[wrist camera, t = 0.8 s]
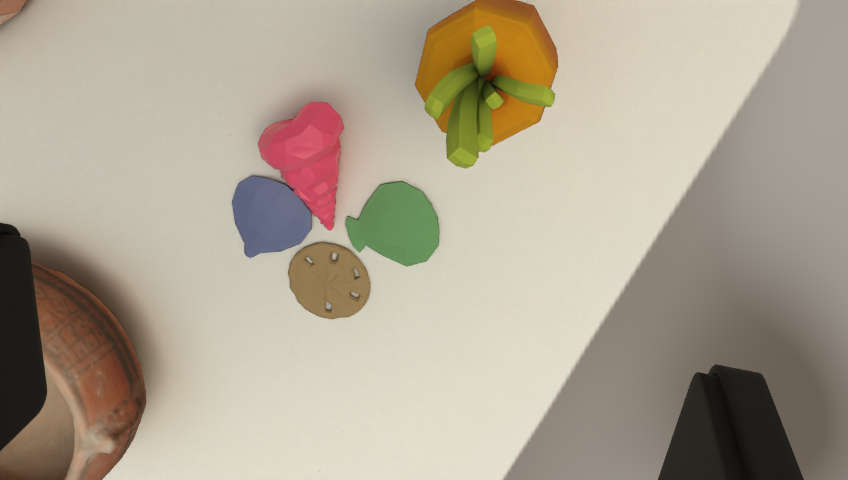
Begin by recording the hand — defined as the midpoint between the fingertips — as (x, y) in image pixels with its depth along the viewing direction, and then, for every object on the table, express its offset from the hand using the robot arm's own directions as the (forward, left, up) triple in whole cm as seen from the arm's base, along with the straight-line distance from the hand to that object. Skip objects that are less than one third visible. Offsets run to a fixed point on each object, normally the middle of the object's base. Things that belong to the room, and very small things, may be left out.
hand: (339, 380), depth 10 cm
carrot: (0, 0, -28) cm, 28 cm away
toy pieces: (+11, -8, -28) cm, 31 cm away
